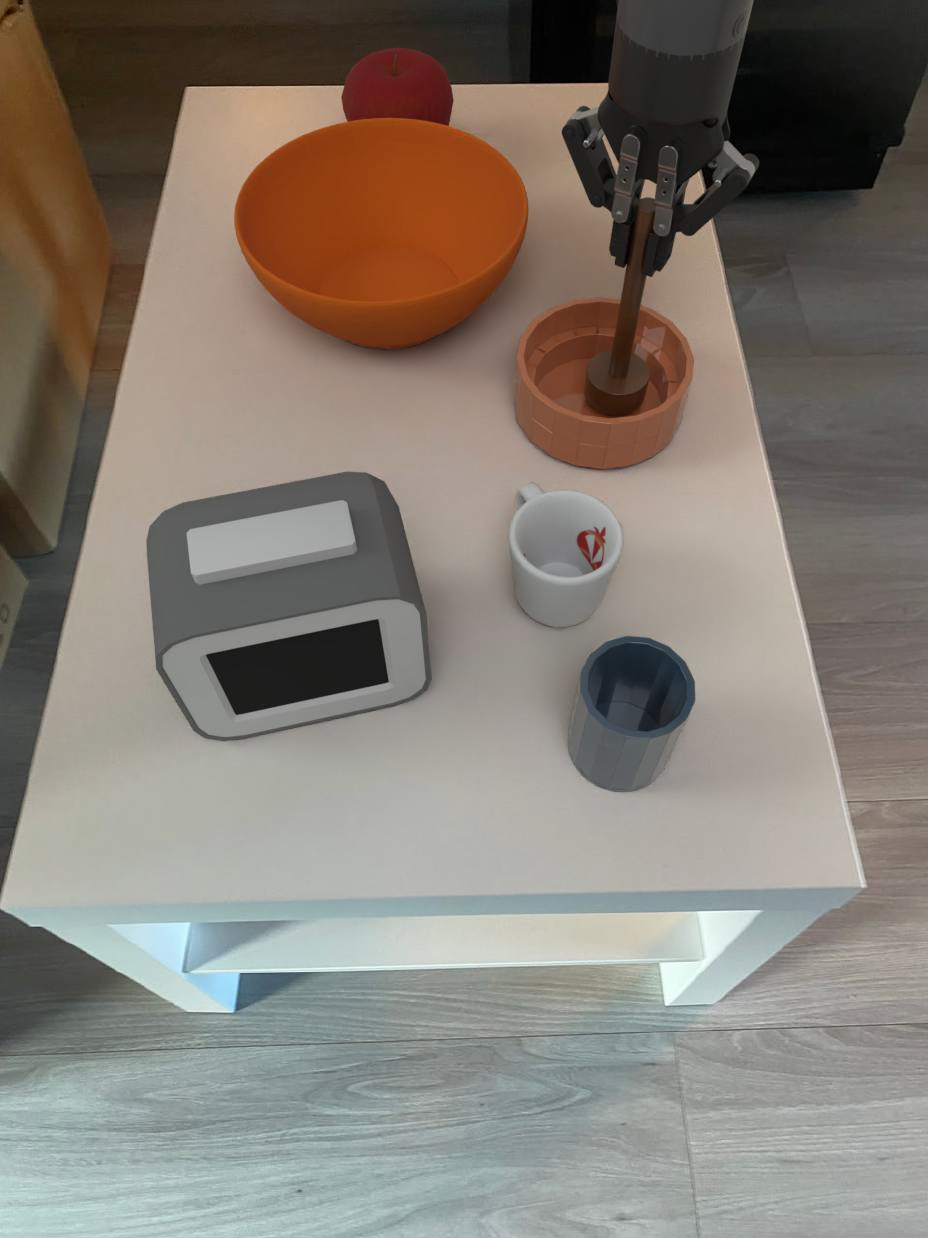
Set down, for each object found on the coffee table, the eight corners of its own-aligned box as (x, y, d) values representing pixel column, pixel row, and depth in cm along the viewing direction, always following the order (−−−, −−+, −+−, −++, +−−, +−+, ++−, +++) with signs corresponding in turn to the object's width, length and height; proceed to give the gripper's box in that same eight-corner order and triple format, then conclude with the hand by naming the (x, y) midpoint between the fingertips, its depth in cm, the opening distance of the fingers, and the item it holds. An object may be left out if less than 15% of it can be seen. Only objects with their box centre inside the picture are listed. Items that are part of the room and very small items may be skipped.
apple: (447, 132, 103) (445, 18, 93) (461, 193, 97) (459, 79, 87) (346, 141, 102) (332, 27, 92) (354, 203, 97) (340, 89, 87)
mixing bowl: (703, 383, 83) (718, 330, 78) (641, 496, 77) (653, 447, 72) (557, 331, 87) (562, 277, 82) (486, 435, 81) (487, 384, 75)
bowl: (493, 415, 82) (495, 324, 73) (217, 370, 85) (188, 278, 76) (545, 230, 94) (552, 134, 86) (303, 197, 97) (287, 101, 89)
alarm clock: (203, 747, 66) (135, 635, 53) (189, 612, 72) (124, 480, 58) (432, 697, 68) (423, 577, 55) (401, 570, 74) (385, 432, 60)
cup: (473, 546, 75) (473, 480, 68) (564, 513, 76) (573, 446, 69) (532, 656, 70) (539, 598, 63) (628, 619, 71) (645, 558, 64)
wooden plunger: (654, 382, 81) (697, 193, 66) (631, 423, 79) (670, 237, 63) (598, 362, 82) (628, 172, 67) (573, 401, 80) (598, 214, 65)
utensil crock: (684, 725, 67) (711, 664, 59) (646, 810, 63) (669, 757, 56) (592, 683, 68) (607, 619, 61) (551, 764, 65) (561, 707, 57)
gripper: (818, 11, 55) (743, 262, 70) (599, -43, 58) (573, 208, 73) (777, 77, 51) (708, 326, 66) (547, 15, 55) (530, 266, 70)
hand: (637, 263), depth 70 cm, fingers closed on wooden plunger, 1 cm apart
